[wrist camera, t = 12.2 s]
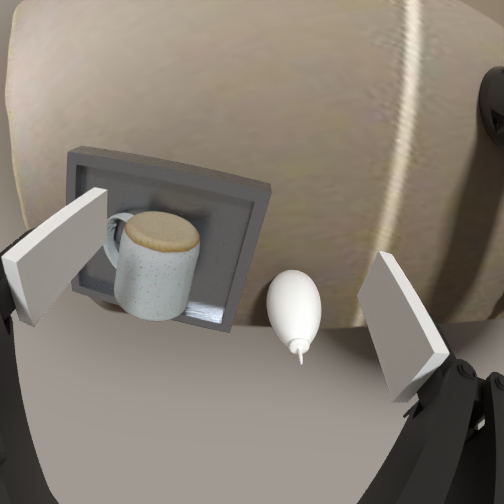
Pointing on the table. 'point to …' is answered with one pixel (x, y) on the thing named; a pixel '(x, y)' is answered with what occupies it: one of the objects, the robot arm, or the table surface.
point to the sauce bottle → (294, 310)
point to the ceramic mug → (153, 263)
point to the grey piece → (185, 206)
